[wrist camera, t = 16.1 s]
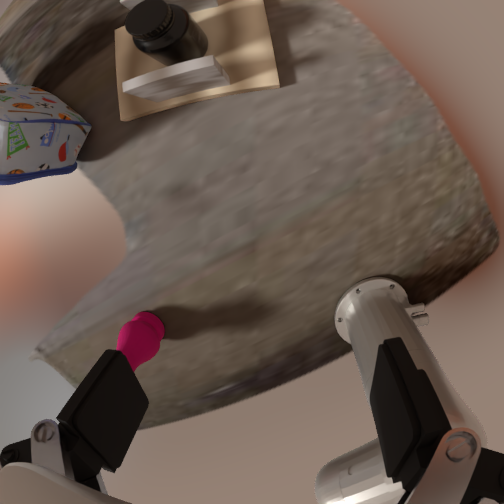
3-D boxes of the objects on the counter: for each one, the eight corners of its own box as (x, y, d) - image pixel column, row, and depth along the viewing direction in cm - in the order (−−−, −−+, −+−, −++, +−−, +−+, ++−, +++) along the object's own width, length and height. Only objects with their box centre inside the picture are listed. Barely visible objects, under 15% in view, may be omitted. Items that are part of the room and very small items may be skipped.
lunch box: (8, 126, 36) (-73, 139, 15) (24, 80, 32) (-59, 77, 12) (87, 177, 38) (-22, 210, 18) (110, 117, 35) (-6, 114, 14)
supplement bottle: (177, 23, 27) (140, -15, 16) (219, 37, 28) (192, -5, 17) (152, 62, 30) (104, 37, 18) (192, 78, 30) (153, 50, 19)
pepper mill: (175, 331, 46) (129, 418, 28) (152, 347, 49) (106, 426, 30) (146, 301, 45) (84, 381, 26) (125, 320, 47) (67, 394, 28)
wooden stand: (261, -5, 26) (254, -47, 16) (279, 88, 32) (278, 63, 21) (121, 33, 29) (81, 12, 19) (127, 121, 35) (81, 117, 24)
